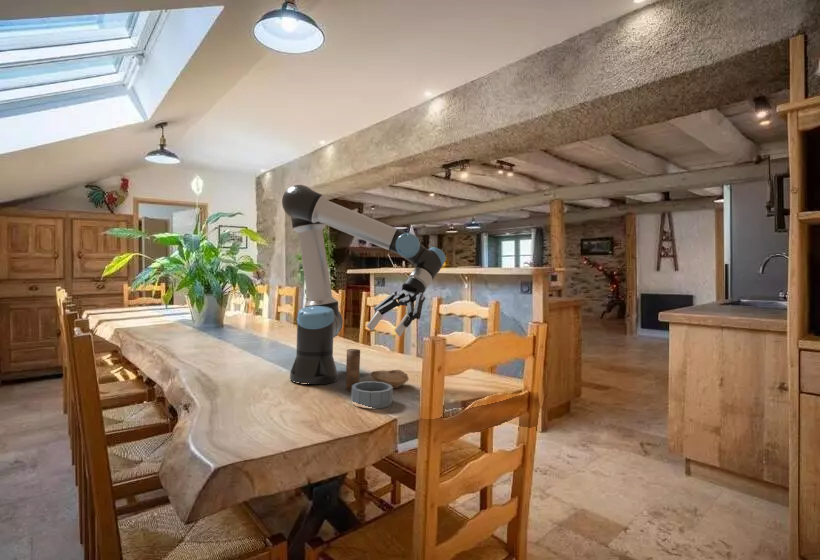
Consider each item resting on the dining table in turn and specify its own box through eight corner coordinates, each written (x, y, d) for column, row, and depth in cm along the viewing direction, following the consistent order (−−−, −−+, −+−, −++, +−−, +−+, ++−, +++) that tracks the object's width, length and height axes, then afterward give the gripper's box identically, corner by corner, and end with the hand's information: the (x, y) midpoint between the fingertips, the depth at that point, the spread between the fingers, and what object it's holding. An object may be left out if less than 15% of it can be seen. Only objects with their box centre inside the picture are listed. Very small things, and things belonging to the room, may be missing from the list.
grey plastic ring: (345, 406, 115) (345, 389, 115) (360, 395, 126) (361, 379, 126) (384, 411, 113) (384, 394, 112) (396, 399, 123) (397, 383, 123)
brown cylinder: (343, 390, 130) (344, 350, 130) (348, 387, 134) (350, 348, 134) (355, 392, 129) (357, 352, 129) (360, 388, 133) (362, 349, 133)
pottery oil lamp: (376, 378, 144) (387, 360, 145) (403, 397, 138) (415, 377, 139) (363, 374, 137) (374, 355, 137) (391, 394, 130) (403, 373, 131)
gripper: (449, 293, 142) (416, 343, 132) (397, 289, 160) (364, 333, 150) (439, 277, 138) (404, 327, 128) (387, 275, 156) (352, 319, 146)
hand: (382, 330), depth 139 cm, fingers open, 13 cm apart
